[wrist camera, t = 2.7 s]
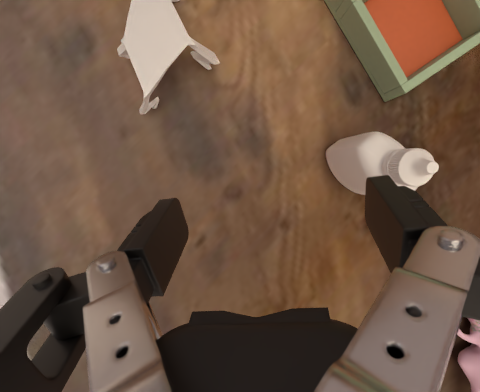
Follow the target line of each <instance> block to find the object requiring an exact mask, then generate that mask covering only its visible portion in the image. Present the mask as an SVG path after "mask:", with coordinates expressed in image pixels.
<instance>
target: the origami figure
mask: <svg viewBox="0 0 480 392" xmlns="http://www.w3.org/2000/svg"><path fill="white" fill-rule="evenodd" d="M178 1H180V0H132V1H131V5H130V9H129V14H128V18H127V23H126V28H125V33H124V37H123V38H122V39H121V42H122V44H121V45H120V46H119V47H118V48H117V51H118V54H119V56H121V57H125V58H129V59H130V60H131V62H132V65H133V67H134V69H135V72H136V74H137V77H138V79H139V82H140V84H141V87H142V89H143V92H144V101H143V104H142V105H141V107H140V109H139V112H140V114H146V113H147V112H148V111H149V110H150V109H151V108H152V107H153V109H156V108H157V106H158V103H159V98H158V97H156V98H155V99H153V100H152V101H151V102H149V98H150V95H151V94H152V92H153V91H154V89H155V88H156V87H157V85H158V84H159V82H160V81H161V79H162V77H163V76H164V74H165V73H166V71H167V70H168V68H169V67H170V66H171V65H172V63H173V62H174V61H175V60H176V58H177V57H178V56H179V55H180V53H181V52H182V51H183V50H184V49H185V48H186V46H187V45H189V46H190V47H191V48H193V49H194V50H195V51H192V52H190V53H191V55H192V57H193V59H195V60H196V61H197V62H199V63H200V64H201V65H202V66H204V67H205V68H206V69H208V70H210V69H212V68H211V66H210V64H209V63H211V64H220V62H219V60H218V58H217V57H216V55H215V53H214V52H212V51H211V50H209V49H208V48H206V47H204V46H203V45H201V44H200V43H198V42H197V41H195V40H194V39H192V38H190V37H189V35H188V34H187V32H186V30H185V28H184V26H183V24H182V22H181V20H180V17H179V15H178V13H177V11H176V9H175V7H174V5H173V3H172V2H178Z"/></svg>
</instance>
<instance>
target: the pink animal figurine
mask: <svg viewBox="0 0 480 392" xmlns="http://www.w3.org/2000/svg"><path fill="white" fill-rule="evenodd" d="M468 320H469V321H470V323H471V327H470V334H468V335H467V334H464V333H462V331H461V330H460V329H459V330H458V333H457V335H458V336H459V337H461V338H462V339H464V340H466V341H468V342H470V343H473V344H471V345H470V347H466V348H465V349H464V350H462V351H460V353H459V355H458V363H459V365H460V367H461V368H462V370H463V372H464V373H465V375H466V376H467V378H468V379H469V381H470V384H471V392H480V320H475V319H470V318H468Z"/></svg>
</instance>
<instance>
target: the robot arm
mask: <svg viewBox="0 0 480 392" xmlns="http://www.w3.org/2000/svg"><path fill="white" fill-rule="evenodd" d="M365 218H366V223H367V226H368V228H369V230H370V232H371V234H372V236H373V238H374V240H375V242H376V244H377V246H378V248H379V250H380V252H381V254H382V256H383V258H384V260H385V262H386V264H387V266H388V268H389V270H390V272H391V275H390V276H389V278H388V280H387V281H386V283H385V285H384V286H383V288H382V290H381V291H380V293H379V295H378V296H377V298H376V300H375V301H374V303H373V305H372V306H371V308H370V310H369V311H368V313H367V315H366V316H365V318H364V320H363V321H362V323H361V325H360V326H359V328H358V329H357V328H355V327H353V326H351V325H349V324H346V323H343V322H340V321H337V320H332V319H330V316H329V311H328V308H298V309H289V310H285V311H281V312H277V313H273V314H269V315H266V316H262V317H250V316H246V315H241V314H236V313H231V312H227V311H201V312H192V315H191V318H190V321H189V323H187V324H184V325H181V326H179V327H177V328H175V329H173V330H171V331H169V332H167V333H166V334H164V335H162V333H161V330H160V328H159V325H158V323H157V320H156V318H155V315H154V312H153V310H152V307H151V305H150V303H149V300H150V298H151V296H163V295H164V293H165V291H166V288H167V286H168V284H169V281H170V279H171V277H172V274H173V272H174V270H175V268H176V265H177V263H178V261H179V258H180V256H181V254H182V251H183V249H184V247H185V245H186V242H187V240H188V226H187V223H186V220H185V217H184V214H183V211H182V208H181V205H180V202H179V200H178V199H177V198H171V199H162V200H159V201H158V203H157V204H156V205H155V207H154V208H153V210H152V211H150V212H149V213H147V214H146V215H145V216H143V217H142V218H141V219H140V220H139V222H138V223H137V224H136V227H134V228H133V230H132V231H131V233H130V234H129V235H128V236H127V238H126V239H125V240H124V242H123V243H122V244H121V246H120V247H119V249H118V250H117V251H112V252H109V253H106V254H104V255H102V256H100V257H98V258H97V259H95V260H94V261H93V262H92V263H91V264H90V265H89V266H88V268H87V270H86V272H84V273H81V274H78V275H74V276H71V277H68V276H67V274H66V273H65V271H64V270H63V269H62V268H58V267H57V268H51V269H47V270H45V271H43V272H40V273H39V274H37V275H35V276H34V277H32V278H31V279H29V280H28V281H27V282H26V283H25V284H24V285H23V286H22V287H21V288H20V289H19V290H18V291H17V292H16V293H15V294H14V296H13V297H12V298H11V299H10V300H9V301H8V302H7V303H6V304H5V305H4V306H3V307H2V308H1V309H0V392H62V390H63V388H64V386H65V384H66V383H67V381H68V379H69V377H70V375H71V374H72V372H73V370H74V368H75V366H76V365H77V363H78V361H79V359H80V357H81V356H82V354H83V352H84V350H85V348H86V354H87V366H88V378H89V390H90V392H440V389H441V386H442V382H443V379H444V376H445V372H446V369H447V366H448V362H449V359H450V356H451V353H452V349H453V346H454V343H455V340H456V336H457V333H458V330H459V327H460V324H461V320H462V317H466V318H470V319H475V320H480V240H479V239H478V238H477V237H476V236H475V235H473V234H472V233H470V232H468V231H466V230H463V229H460V228H456V227H450V226H447V224H446V223H445V222H444V221H443V220H442V219H441V218H440V217H439V216H438V215H437V214H436V212H435V211H434V210H433V209H432V208H431V207H429V205H428V204H427V203H426V202H425V201H423V198H422V197H421V196H420V195H419V194H418V193H417V192H416V191H414V190H412V189H410V188H408V187H406V186H397V185H396V183H395V182H394V181H393V180H392V179H391V177H390V176H389V175H383V176H374V177H367V179H366V192H365ZM43 323H44V325H45V326H46V327H47V329H48V330H49V331H50V332H51V334H50V335H49V337H48V338H47V340H46V341H45V342H44V344H43V345H42V347H41V348H40V349H39V351H38V352H37V354H36V355H35V357H34V358H33V359H32V361H30V359H29V358H28V356H27V346H28V343H29V341H30V340H31V338H32V337H33V336H34V334H35V333H36V332H37V330H38V329H39V328H40V327H41V325H42V324H43Z"/></svg>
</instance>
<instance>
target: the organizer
mask: <svg viewBox="0 0 480 392" xmlns="http://www.w3.org/2000/svg"><path fill="white" fill-rule="evenodd" d="M324 1H325V3H326V4H327V6H328V8H329V9H330V11H331V13H332V14H333V16H334V18H335V20H336V21H337V23H338V25H339V26H340V28H341V30H342V31H343V33H344V35H345V36H346V38H347V40H348V41H349V43H350V45H351V46H352V48H353V50H354V52H355V53H356V55H357V57H358V58H359V60H360V62H361V63H362V65H363V67H364V68H365V70H366V72H367V73H368V75H369V77H370V79H371V80H372V82H373V84H374V85H375V87H376V89H377V90H378V92H379V94H380V95H381V97H382V99H383V100H384V102H386V101H388V100H391V99H393V98H396V97H398V96H401V95H403V94H405V93H407V92H408V91H410V90H411V89H413V88H414V87H416V86H417V85H419V84H420V83H422V82H423V81H425V80H426V79H428V78H429V77H431V76H432V75H434V74H435V73H436V72H438V71H439V70H441V69H442V68H444V67H445V66H447V65H448V64H450V63H451V62H453V61H454V60H456V59H457V58H459V57H460V56H462V55H463V54H465V53H466V52H467V51H469V50H470V49H472V48H473V47H475V46H476V45H478V44H479V43H480V0H324Z"/></svg>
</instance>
